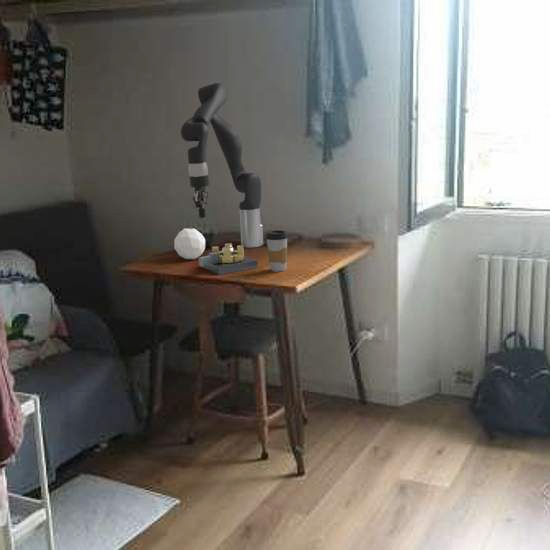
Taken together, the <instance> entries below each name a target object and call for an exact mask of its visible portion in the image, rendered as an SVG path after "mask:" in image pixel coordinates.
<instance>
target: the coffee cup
mask: <svg viewBox="0 0 550 550" xmlns="http://www.w3.org/2000/svg"><path fill="white" fill-rule="evenodd" d="M265 238H266V244H267V245H266V246H267V253H268V263H269V269H270V271H271V272H277V273H278V272H285V271H286V270H287V266H288V265H287V264H288V263H287V261H288V233H287V231H286V230H281V229H280V230H270V231H267V233H266V237H265Z"/></svg>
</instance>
